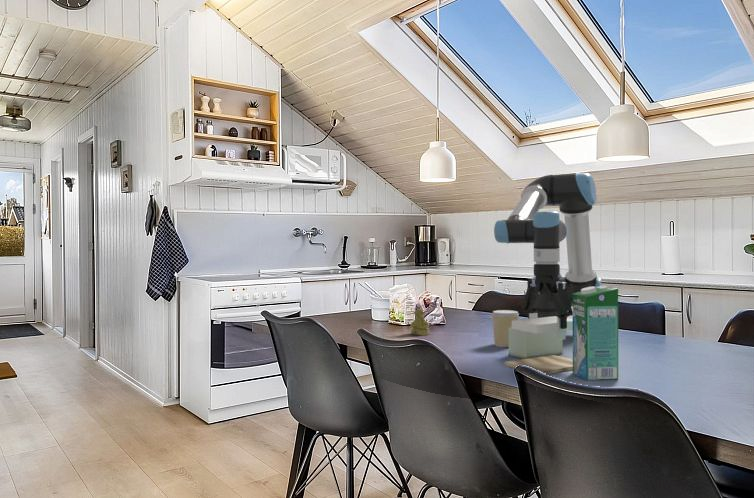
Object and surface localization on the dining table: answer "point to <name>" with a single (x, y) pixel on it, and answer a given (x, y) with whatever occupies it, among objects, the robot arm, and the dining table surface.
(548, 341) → the box
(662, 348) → the dining table surface
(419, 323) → the olive green tiered cone
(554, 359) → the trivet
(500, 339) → the coffee cup
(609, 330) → the milk carton
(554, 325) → the lid
